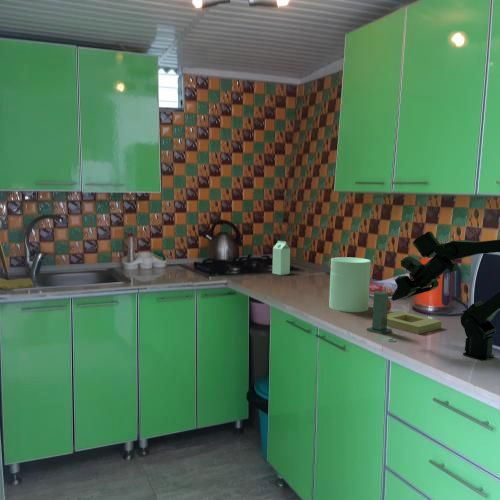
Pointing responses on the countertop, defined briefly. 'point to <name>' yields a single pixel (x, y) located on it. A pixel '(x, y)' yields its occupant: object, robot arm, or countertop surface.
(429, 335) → the countertop surface
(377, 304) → the bracket
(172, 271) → the countertop surface
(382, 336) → the mounting bracket
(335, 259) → the canister
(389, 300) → the clementine
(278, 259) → the milk carton
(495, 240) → the robot arm
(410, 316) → the olive square-hole block
